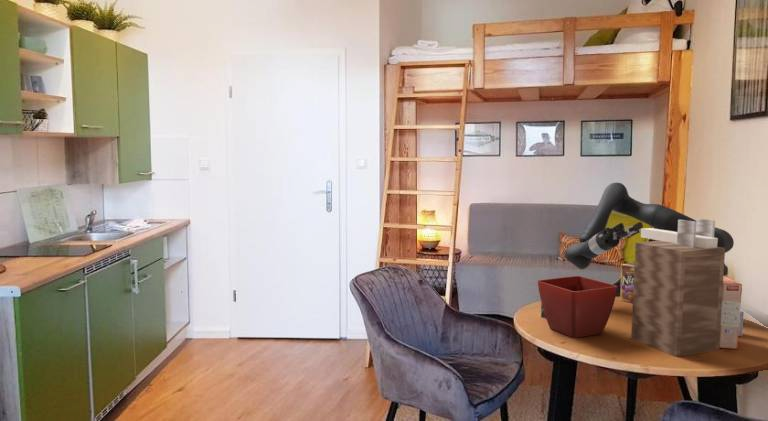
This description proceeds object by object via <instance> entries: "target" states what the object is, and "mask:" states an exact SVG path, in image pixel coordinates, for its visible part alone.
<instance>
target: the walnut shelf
mask: <svg viewBox="0 0 768 421" xmlns="http://www.w3.org/2000/svg"><path fill="white" fill-rule="evenodd" d="M715 227H716V220H715V219H714V220H713V219H712V220H711V219H705V218H696V222H695V221H687V220H678V233H677V243H671V242H665V241H660V240H655V241H640V242H639V241H638V242H635V247H634V264H633V265H634V287H633V303H632V311H631V312H632V313H631V331H630V332H631V334H630V337H631V340H633V341H636V342H638V343H641V344H643V345H646V346H649V347H651V348H653V349H656V350H659V351H661V352H664V353H667V354H669V355H671V356H674V357H682V356H688V355H689V356H690V355H695V354H700V353H701V354H702V353H706V352H707V353H708V352H714V351H719V350H720V348H719V342H720V325H721V308H722V292H723V275H724V263H725V256H726V253H725V248H722V247H717V248H709V249H705V248H700V247H695V238H696V235H700V236H706V237H713V238H714V231H715Z"/></svg>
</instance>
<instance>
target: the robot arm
mask: <svg viewBox="0 0 768 421" xmlns="http://www.w3.org/2000/svg"><path fill="white" fill-rule="evenodd" d="M613 211H614V212H617V213H619V214H622V215H625V216H629V217H631V218H634V219H635V220H638V221H639V222H636V223H635V224H633V225H631V226H624V223H623V222H619V223H618V224H617V225H614V226H611V227H607V225H608V222H609V219H610V216H611V214H612V212H613ZM678 220H687V221H695V222H696V221H697V219H694V218H692V217H689V216H687V215H685V214H684V213H682V212H679V211H677V210H675V209H672V208H670V207H667V206H666V205H664V204H663V205H662V204H656V203H643V202H640V201H638V200H636V199H635V198H632V197H631V196H630V195H629V192H628V189H627V188H626V186H625V185H624V184H623V183H621V182H612V183H610V184H609V185H607V186H606V187H605V189H604V191H603V193H602V195H601V198H600V200H599V203H598V205H597V207H596V209H595V211H594V212H593V215H592V217H591V218H590V221H589V222H588V224H587V226H586V227H585V229H584V230H583V232H582V233H581V234H580V236H579V238H578V241H579V242H577V243H574V244H571V245H569V246H568V247H566V249H565V251H564V252H563V253H564V258H565V259H566V260H567V261H568V262H570V263H571V264H572V265H573V266H575V267H576V268H577V269H579V270H585V269H587V268H588V267H589V266H590V264H591V262H592V260H593V259H595V258H597V257H598V256H600V255H602V254H605V253H607V252H610V250H612V249H614V248H616V247H617V246H618V245H619V244H620V241H621V240H623V239H625V238H627V239H630V238H632V237H633V236H636V235H637V234H639V233H641V229H643V227H644V226H643V224H646V225H649V226H651V228H654V229H661V230H667V231H674V232H678ZM714 238H718V242H717V247H722V248H725V254H726V253H728V252H730V251H731V250H732V249H733V247H734V242H735V241H734V238H733V236H732V235H731V234H730V233H729V232H728V231H727V230H725V229H723V228H719V227H716V226H715V231H714ZM728 274H729V268H728V266H727V265H726V263H725V262H724V275H723V276H726V277H728ZM728 278H729V277H728Z"/></svg>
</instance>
